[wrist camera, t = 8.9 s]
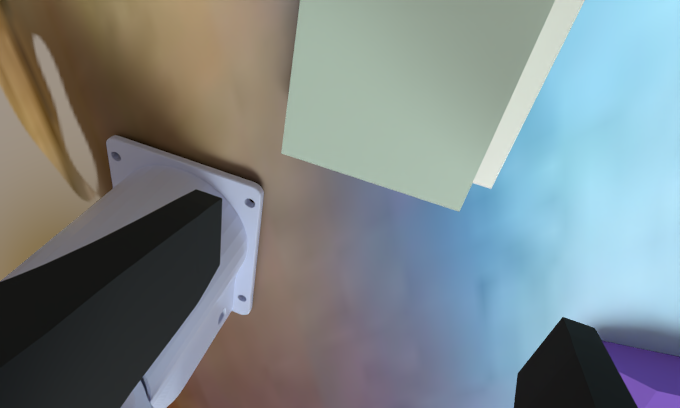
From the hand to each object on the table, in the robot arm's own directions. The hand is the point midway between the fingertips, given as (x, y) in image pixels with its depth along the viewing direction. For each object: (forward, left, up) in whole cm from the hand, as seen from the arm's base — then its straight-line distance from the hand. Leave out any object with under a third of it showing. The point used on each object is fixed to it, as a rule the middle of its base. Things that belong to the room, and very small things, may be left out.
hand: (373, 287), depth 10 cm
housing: (+3, +1, -8) cm, 9 cm away
